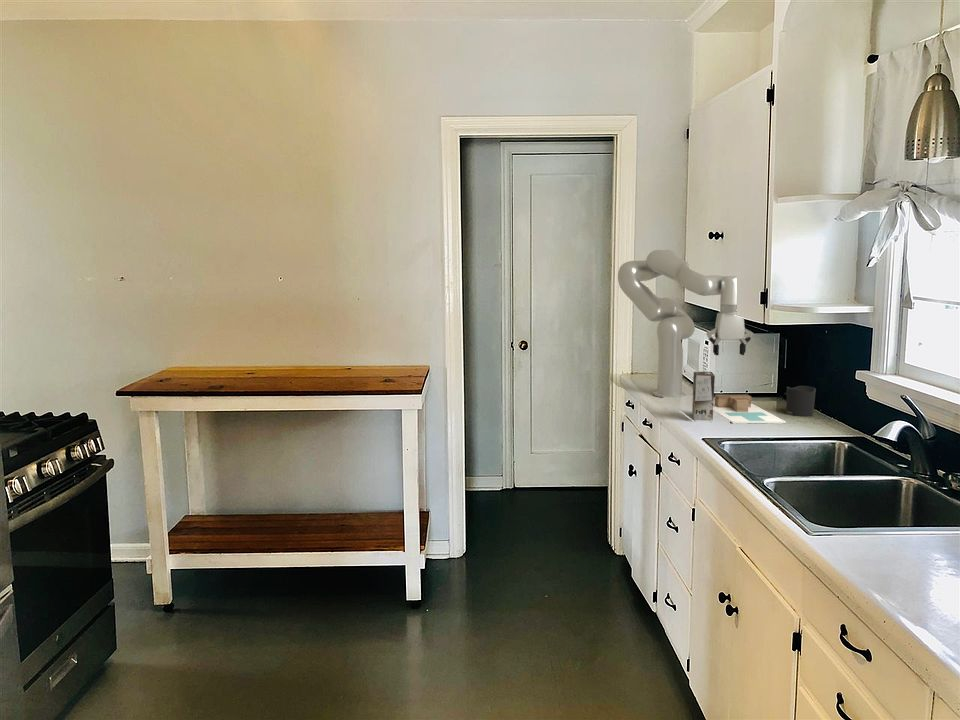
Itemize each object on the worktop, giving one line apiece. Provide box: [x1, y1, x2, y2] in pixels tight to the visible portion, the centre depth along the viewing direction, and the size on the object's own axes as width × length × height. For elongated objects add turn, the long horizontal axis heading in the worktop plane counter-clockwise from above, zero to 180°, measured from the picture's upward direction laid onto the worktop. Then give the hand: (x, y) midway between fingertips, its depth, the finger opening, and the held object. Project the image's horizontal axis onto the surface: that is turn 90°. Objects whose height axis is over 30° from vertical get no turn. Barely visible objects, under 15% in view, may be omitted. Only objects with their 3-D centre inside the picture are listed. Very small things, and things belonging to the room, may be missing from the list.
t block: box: [714, 394, 752, 412], centre depth 271 cm, size 12×12×4 cm
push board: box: [713, 401, 787, 425], centre depth 267 cm, size 34×18×1 cm, turn 1°
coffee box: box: [691, 371, 716, 422], centre depth 256 cm, size 9×6×16 cm
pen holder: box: [785, 385, 817, 418], centre depth 261 cm, size 9×9×10 cm
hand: (729, 354), depth 279 cm, fingers open, 9 cm apart
